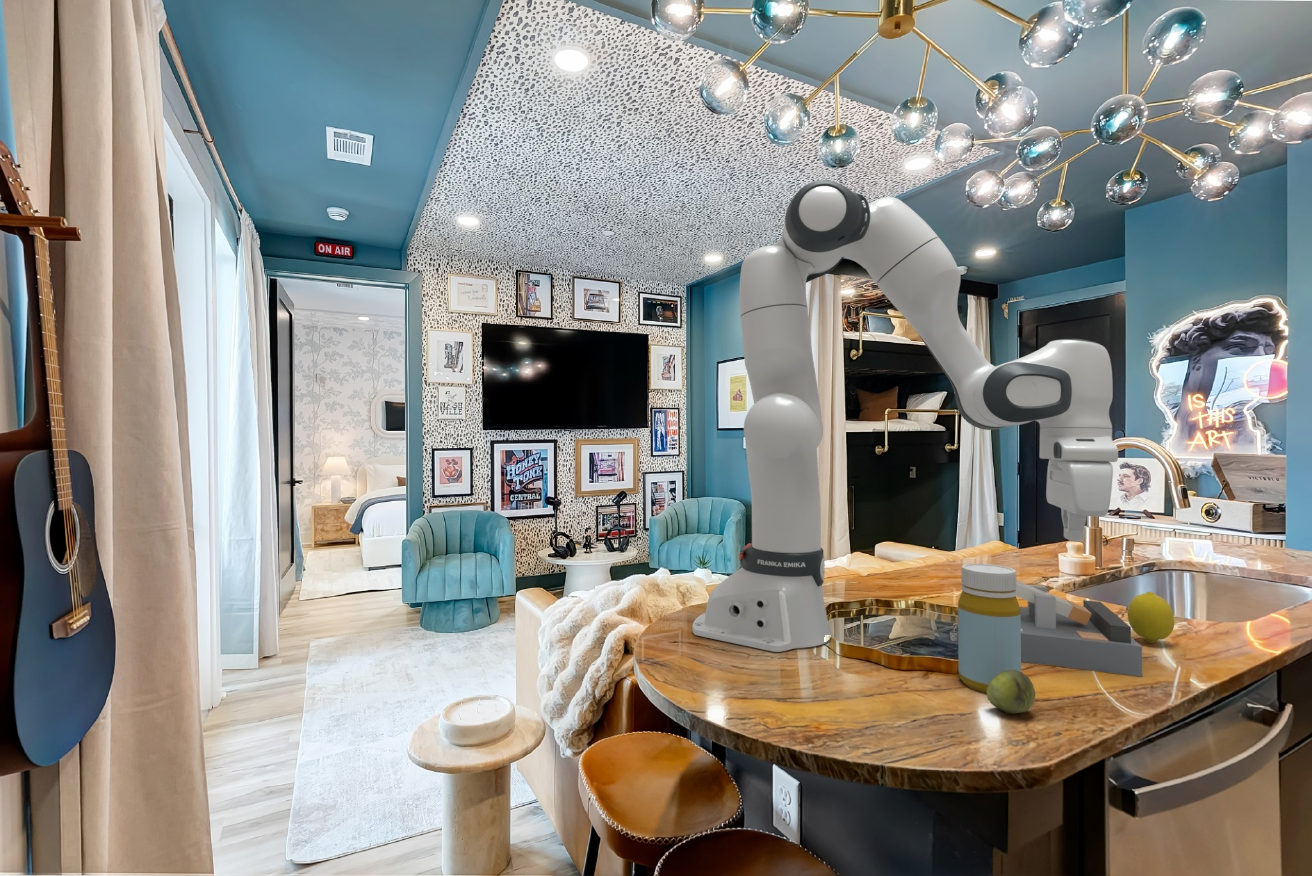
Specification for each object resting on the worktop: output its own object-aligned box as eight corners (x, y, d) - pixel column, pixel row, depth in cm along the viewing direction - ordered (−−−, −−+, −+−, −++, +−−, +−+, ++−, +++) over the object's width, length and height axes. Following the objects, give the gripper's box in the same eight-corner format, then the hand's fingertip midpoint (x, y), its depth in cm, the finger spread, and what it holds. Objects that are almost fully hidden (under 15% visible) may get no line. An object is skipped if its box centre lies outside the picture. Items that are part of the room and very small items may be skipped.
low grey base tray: (972, 655, 86) (971, 596, 86) (963, 624, 101) (963, 574, 101) (1142, 676, 78) (1141, 612, 78) (1105, 639, 93) (1105, 585, 93)
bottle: (1030, 698, 71) (1029, 575, 72) (968, 693, 73) (967, 573, 73) (1008, 676, 78) (1007, 564, 78) (952, 672, 80) (951, 562, 80)
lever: (998, 589, 90) (1002, 578, 90) (994, 583, 94) (999, 572, 93) (1086, 625, 85) (1092, 614, 85) (1079, 618, 89) (1084, 606, 89)
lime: (982, 711, 68) (982, 668, 68) (1000, 700, 71) (1000, 659, 71) (1025, 726, 64) (1024, 680, 64) (1042, 713, 67) (1041, 670, 67)
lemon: (1182, 651, 88) (1181, 597, 88) (1137, 646, 89) (1136, 594, 90) (1163, 639, 93) (1163, 588, 93) (1121, 635, 95) (1121, 586, 95)
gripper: (1036, 447, 99) (1034, 529, 99) (1065, 447, 80) (1064, 549, 80) (1081, 448, 96) (1080, 532, 96) (1122, 449, 77) (1121, 553, 77)
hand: (1073, 540), depth 88 cm, fingers closed
